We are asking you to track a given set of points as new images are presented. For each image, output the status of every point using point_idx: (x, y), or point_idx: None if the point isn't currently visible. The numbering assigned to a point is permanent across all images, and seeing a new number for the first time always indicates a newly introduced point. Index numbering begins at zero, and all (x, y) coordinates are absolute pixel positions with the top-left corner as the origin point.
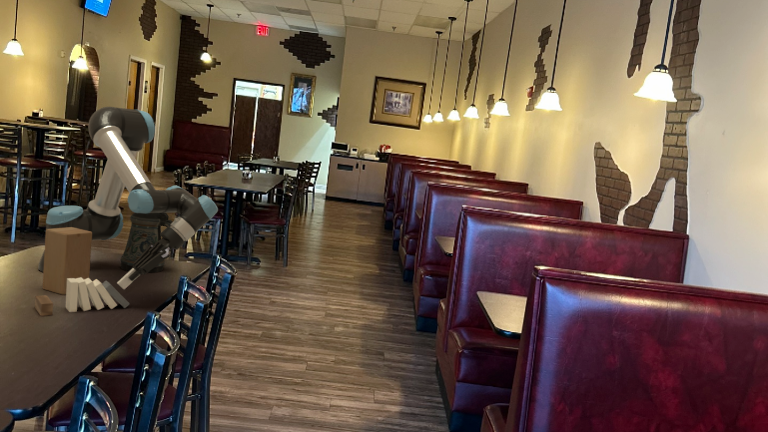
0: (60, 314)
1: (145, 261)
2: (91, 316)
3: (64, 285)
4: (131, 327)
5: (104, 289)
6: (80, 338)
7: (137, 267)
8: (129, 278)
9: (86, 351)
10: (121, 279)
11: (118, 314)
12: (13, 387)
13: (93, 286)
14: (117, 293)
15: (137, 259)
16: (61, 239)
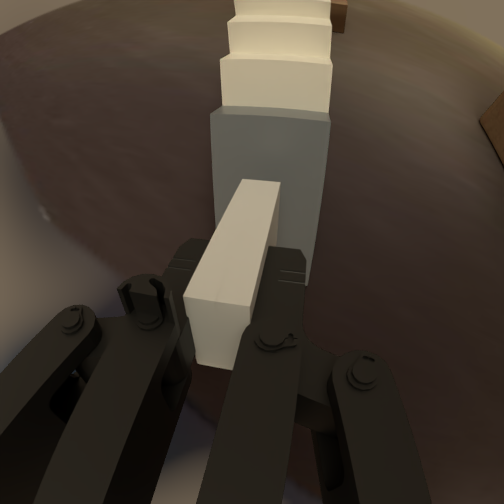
0: None
1: (61, 439)
2: (178, 103)
3: (495, 104)
4: (35, 189)
5: (223, 103)
6: (53, 72)
7: (142, 325)
8: (189, 242)
9: (11, 84)
10: (258, 199)
11: (155, 194)
12: (10, 32)
13: (231, 46)
14: (215, 186)
15: (401, 457)
16: None
